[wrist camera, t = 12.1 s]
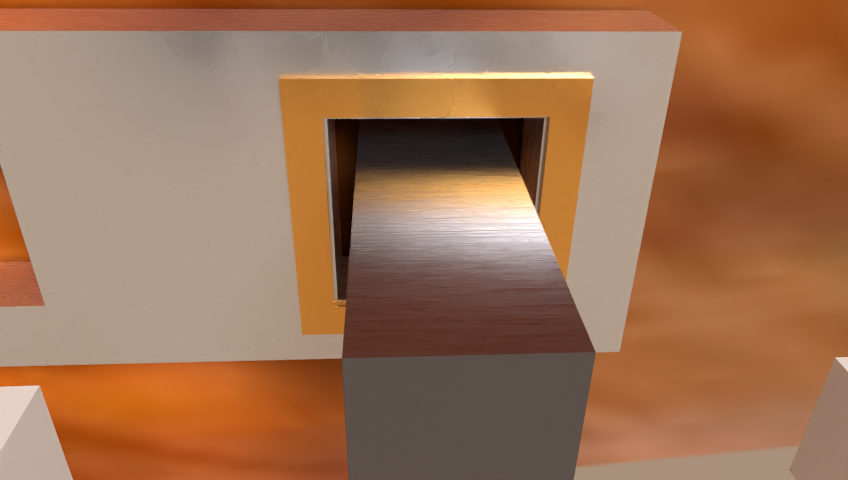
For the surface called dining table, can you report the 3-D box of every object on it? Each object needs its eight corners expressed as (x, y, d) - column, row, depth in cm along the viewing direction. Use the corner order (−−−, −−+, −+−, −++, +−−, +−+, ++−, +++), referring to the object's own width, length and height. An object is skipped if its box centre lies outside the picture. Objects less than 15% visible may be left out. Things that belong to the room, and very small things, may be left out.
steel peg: (359, 115, 20) (341, 358, 11) (495, 115, 20) (595, 351, 11) (364, 235, 22) (351, 528, 13) (487, 232, 22) (566, 520, 13)
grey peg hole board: (-346, 7, 18) (-455, 32, 15) (648, 10, 19) (685, 33, 17) (-181, 322, 23) (-245, 376, 20) (598, 306, 24) (621, 355, 22)
